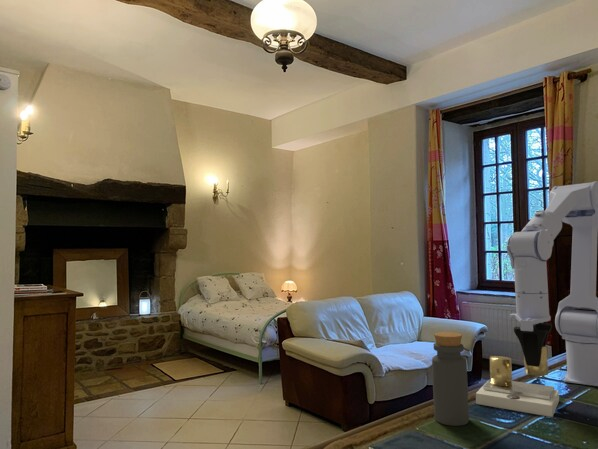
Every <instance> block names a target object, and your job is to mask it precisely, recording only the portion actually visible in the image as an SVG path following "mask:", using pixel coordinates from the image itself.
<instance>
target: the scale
mask: <svg viewBox="0 0 598 449" xmlns="http://www.w3.org/2000/svg"><path fill="white" fill-rule="evenodd" d="M489 380H490V379H489ZM489 380H487V381H486V382H485V383H484V384H483V385H482V386H481V387H480V389H478V391H476V393H475V404H476V405H480V406H481V405H482V406H488V407H493V408H497V409H505V410H508V411H509V410H510V411H515V412H521V413H527V414H532V415H539V416H545V417H549V418H553V417H554V414H555V413H556V412H555V411H556V409H557V407H558V404H559V402H560V392H559V390H557V389H554V392H553V394H552V396H551V398H550V400H548V399H541V398H535V397H528V396H522V395H515V394H509V393H502V392H496V391H490V390H483V386H484V385H485V384H486V383H487V382H488V381H489Z"/></svg>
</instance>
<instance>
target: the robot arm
mask: <svg viewBox="0 0 598 449" xmlns="http://www.w3.org/2000/svg"><path fill="white" fill-rule="evenodd" d="M563 223H564V224H567V225H570V226H571V227H572V236H571V237H572V238H571V239H572V241H571V242H572V243H571V261H570V262H571V266H570V268H571V269H570V293H569V294H568V296H566V297H565V298H563V299H562V300H560V301H559V302H558V305H557V310H556V314H555V317H554V318H555V319H554V324H555V325H554V326H555V329H556V331H557V332H558V334H559V335H560V336H561V339H562V340H565V350H566V351H565V353H566V354H565V357H566V370H567V371H566V374H565V376H564V379H563V382H564V383H571V384H579V385H585V386H586V385H587V386H593V387H598V297H597V264H598V263H597V261H598V180H595V181H592V182H584V183H575V184H567V185H560V186H559V185H555V186H553V187H552V188H551V190H550V191H549V203H548V205H547V207H546V208H545V210H541V211H540V210H539V211H536V212H535V213H534V215H533V216H532V217H531V219H530V220H529V221H528V222H527V223H526V225H525V226H524V227H523V228H522V230H521V231H515V232H513V233H512V234H511V235H510V236H509V237H508V240H507V245H506V252H507V255H508V257H509V260H510V266H511V269H513V271H514V272H513V274H514V290H515V310H516V313H510V314H509V318H510V319H515V320H517V321H518V322H519V326H514V327H513V331H514V334H515V335H516V338H517V339H518V341H519V343H520V345H521V346H520V347H521V350H522V353H523V359H524V358H525V361H526V364H527V365H528V366H536V367H539V365H540V362H541V353H542V346H546V345H547V340H548V337H549V334H550V332H551V330H552V329H553V328H552V327H553V324H552V323H547V322H550V321H551V318H552V316H551V315H550V307H549V306H550V305H549V304H550V303H549V287H548V286H549V285H548V284H549V283H548V268H547V266H548V265H547V261H548V260H549V259H551V256H552V252H553V247H554V243H555V242H554V240H555V239H556V238H557V236H558V235H559V234H560V232H561V231H562V229H563ZM580 309H581V310H580ZM592 310H593V311H592ZM546 347H547V346H546Z"/></svg>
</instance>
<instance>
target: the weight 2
mask: <svg viewBox="0 0 598 449" xmlns="http://www.w3.org/2000/svg"><path fill="white" fill-rule="evenodd" d="M523 362H524V373H525V374H527V375H530V376H537V377H539V376H540V377H541V376H542V377H543V376H548V375H549V364H548V362H549V361H548V348H547V346H542V353H541V362H540V365H539V367H536V366H528V365H527V364H526V361H525V358H524V357H523Z"/></svg>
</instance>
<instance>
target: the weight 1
mask: <svg viewBox="0 0 598 449" xmlns="http://www.w3.org/2000/svg"><path fill="white" fill-rule="evenodd" d="M512 372H513V371H512V358H510V357H508V356H502V355H501V356H500V355H492V356H489V376H490V377H489V378H490V379H489V380H490V383H492V384H494V385H499V386H511V385H512V381H513V373H512Z"/></svg>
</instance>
